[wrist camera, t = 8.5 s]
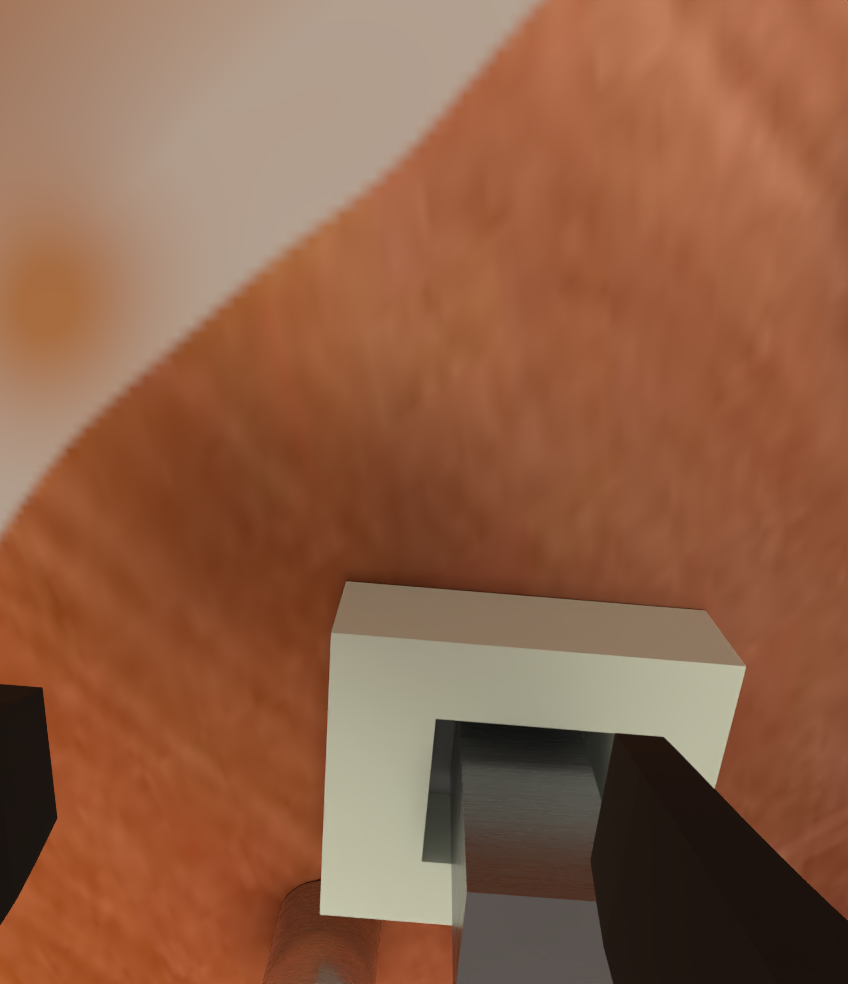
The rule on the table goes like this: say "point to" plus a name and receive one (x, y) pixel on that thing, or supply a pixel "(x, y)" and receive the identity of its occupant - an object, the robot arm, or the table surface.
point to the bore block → (489, 716)
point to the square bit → (523, 857)
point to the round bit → (321, 944)
